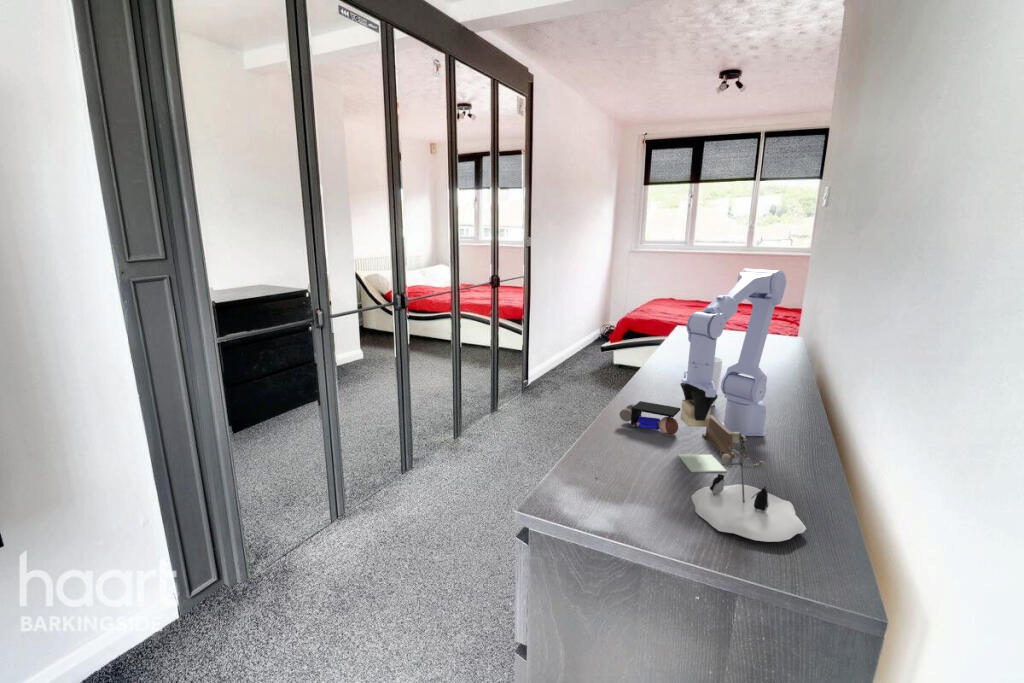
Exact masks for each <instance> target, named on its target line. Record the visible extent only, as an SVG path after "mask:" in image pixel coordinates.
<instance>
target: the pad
mask: <svg viewBox="0 0 1024 683" xmlns="http://www.w3.org/2000/svg"><path fill="white" fill-rule="evenodd" d="M678 458H680V461H682V462H683V464H684V465H685V467H687V469H688V471H690V472H691V473H727V469H725V466H722V463H721V462H720V461H718V460H717V458H715V457H714V455H712V454H682V453H681V454H678Z"/></svg>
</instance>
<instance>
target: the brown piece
mask: <svg viewBox="0 0 1024 683" xmlns="http://www.w3.org/2000/svg"><path fill="white" fill-rule="evenodd" d="M722 423H723V422H720V420H719V419H717V418H716V417H715V416H714V415H712V414H710V419H709V427H705V428H706V429H705V433H702V435H701V436H702V438H703V439H707V440H708V441H709V442H710V443H711V444H712V445H713V446H714V447H715V448H716V449H717V450H718V451H720V454H719V455H720V456H721V457H722V456H723V454H729V455H730V456H731V458H736V454H734V453H733V452H732V451H731V450H729V449H728V448H730V445H732V446H733V445H734V443H733V441H732V432H731V431H730V430H729V429H728V428H726V427H725V426H724V425H723V424H722ZM728 441H729V443H730V445H729V444H728ZM733 447H734V446H733Z"/></svg>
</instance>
